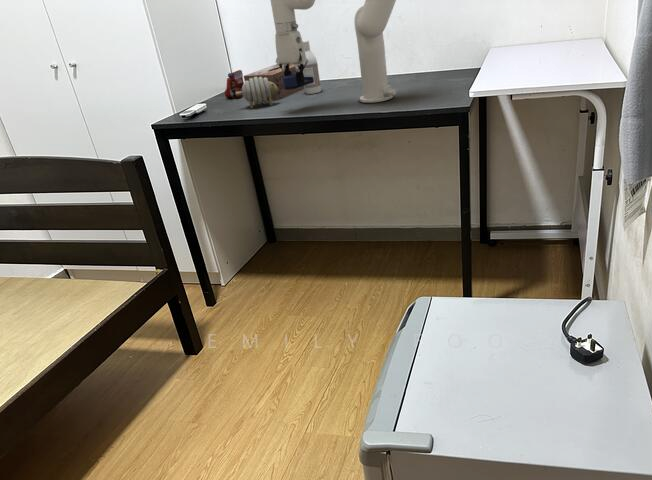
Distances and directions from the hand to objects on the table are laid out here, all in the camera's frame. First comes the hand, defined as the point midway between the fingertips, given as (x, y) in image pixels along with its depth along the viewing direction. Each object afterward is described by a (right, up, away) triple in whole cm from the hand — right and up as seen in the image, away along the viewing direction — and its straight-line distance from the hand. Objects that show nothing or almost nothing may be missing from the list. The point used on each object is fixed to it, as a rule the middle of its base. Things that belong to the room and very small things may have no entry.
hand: (295, 82), depth 202 cm
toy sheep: (-17, -1, +21) cm, 27 cm away
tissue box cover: (-12, +11, +40) cm, 43 cm away
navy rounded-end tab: (+1, -1, +2) cm, 2 cm away
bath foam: (+3, +9, +33) cm, 34 cm away
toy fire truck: (-31, +11, +45) cm, 56 cm away
